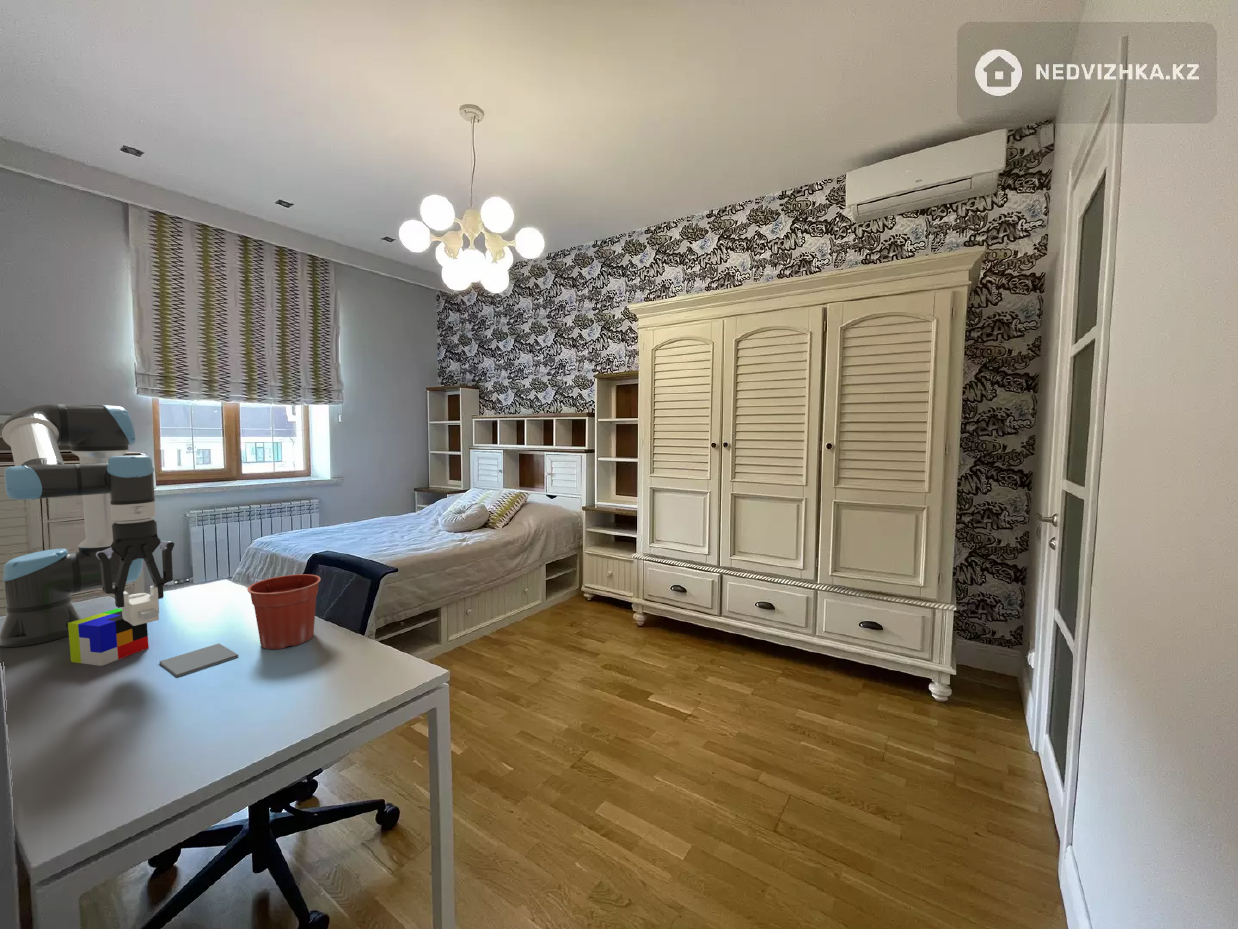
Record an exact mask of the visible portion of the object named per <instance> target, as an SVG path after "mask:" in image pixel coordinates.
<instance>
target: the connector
mask: <svg viewBox="0 0 1238 929" xmlns="http://www.w3.org/2000/svg"><path fill="white" fill-rule="evenodd" d="M158 601H159V599H156V598H154V597H152V596H151V595H150V594H149V593H147V592H140V593H139V592H138V593H134V594H133V593H132V594H129V609H130V620H129V621H128V622H129V623H130V624H132V625H133V626H136V625H140V624H144V623H147V624H148V623H152V622H157V621H159V620H160V615H159V614H160V612H159V613H158Z"/></svg>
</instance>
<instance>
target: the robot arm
mask: <svg viewBox="0 0 1238 929" xmlns="http://www.w3.org/2000/svg"><path fill="white" fill-rule="evenodd" d="M0 430H1V431H0V432H1V438H2V440H3V441H4V443H6V444H7V445H8V446H9V447H10V449H11V454H12V460H13V463H14V465H13V466H8V467H6V468H5V469H4V470H3V475H4V488H5V495H6V497H7V498H8V499H10V500H14V501H15V500H32V501H33V500H38V499H39V500H40V499H50V498H51V499H52V498H53V499H54V498H63V497H75V496H76V497H77V496H82V507H83V518H84V521H83V523H84V531H85V533H84V534H85V539H84V540H82V542H80V543H79V544H78V551H74V552H69V550H68V549H67V548H54V549H47V550H46V549H45V550H40V551H37V552H32V553H31V552H30V553H27V554H24V555H21V556H17V557H14V558H12V559H9V561H7V562H6V563H4V565H3V577H2V582H4V595H5V596H4V597H5V608H6V617H5V619H4V622H3V624H2V627H1V630H0V647H3V648H18V647H26V646H27V647H28V646H33V645H39V644H42V643H47V642H51V641H54V640H58V639H62V638H65V637H69V631H68V623H70V622H73V621H76V620H80V619H82V617H81V615H80V614H79V612H78V610H77V609H76V608H75V606H74V604H73V602H72V594H75V593H81V592H86V591H87V592H88V591H93V590H97V589H102V591H103V592H104V593H105V594H108V595H111V594H112V595H114V602H115V603H114V604H115V606H116V607H117V609H122V616H123V619H124V620H125V621H129V620H130V609H129V595H130V594H129V592H128V591H126V590H125V589H126V585H127V584H129V583H133V582H136V581H137V580H139V578H140V576H141V573H142V570H143V563H144V562H145V565H146V567H147V570H148V572H149V574H150V577H151V580H152V583H153V584H154V585H150V586H149V590H150V591H149V592H150V594H149V595H151V596H152V597H154V598H156V599H158V613H159V614H160V603H159V602H160V601H159V600H160V599H164V586H165V584H167V583H170V582H172V581H173V579H174V577H173V576H174V575H173V554H172V553H173V552H172V551H173V550H174V547H175V542H173V541H170V540H167V541H166V540H161V538H159V536H158V527H157V526H158V524H157V520H156V519H154V518H155V517H156V516H157V513H156V500H155V485H154V484H155V483H154V482H155V481H154V471H155V468H154V466H153V459H152V457H150V456H149V455H144V454H143V455H141V454H140V455H135V454H134V455H129V454H128V455H125V454H127V452H129V446H132V445H134V444H135V443H136V433H135V429H134V425H133V420H132V418H131V416H130V414H129V412H128V411H127V409H126V408H124V407H123V406H121V405H120V406H119V405H109V404H106V405H105V404H71V403H70V404H69V403H67V404H65V403H64V404H63V403H43V404H37V405H33V406H30V407H25V408H23V409H20V410H18V411H17V412H15V413H13V414H12V415H10V416H8V418H7V419H6V420H5V421H4V422H3V423H2V426H1V429H0ZM59 446H61V447H62V446H63V447H64V446H69V447H70V452H71V453H72V454H73V455H74V456H77V457H78V459H79V463H68V464H67V463H65V462H64V459H63V456H62V454H61V452H60V451H61V450H60V449H59ZM158 547H160V548H159V549H161V561H162V575H161V574H160V571H159V568H158V566H157V564H156V561H155V557H154V554H153V553H154V552H155V551H156V549H157V548H158Z"/></svg>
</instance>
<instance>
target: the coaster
mask: <svg viewBox="0 0 1238 929" xmlns="http://www.w3.org/2000/svg"><path fill="white" fill-rule="evenodd" d="M235 658H239V654H238V653H236V652H235V651H233V650H231V649H229V648H228V647H226V646H224V645H222V644H221V643H216V644H213V645H212V644H211V645H210V646H206V647H203V648H200V649H195V650H193V651H189V652H186V653H183V654H179V655H176V656H173V657H170V658H166V659H163V660H160V661H158V662H159V664H160V665H161V667H163V668H164V669H166V670H167V671H168V672H170V673H171V674H172V675H173V676H175V677H176V678H178V677H181V676H184V675H187V674H190V673H193V672H196V671H200V670H203V669H205V668H208V667H212V666H214V665H217V664H221V663H225V662H227V661H229V660H233V659H235Z"/></svg>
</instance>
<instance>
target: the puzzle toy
mask: <svg viewBox="0 0 1238 929" xmlns="http://www.w3.org/2000/svg"><path fill="white" fill-rule="evenodd" d="M68 631H69V635H68V640H69V642H68V643H69V651H70V652H69V654H70V662H71V663H78V664H85V665H92V666H101V667H102V666H105V665H108V664H111V663H114V662H116V661H118V660H121V659H124V658H126V657H129V656H132V655H133V654H137V653H139V652H142V651H144V650H147V649H149V646H150V645H149V633H148V623H144V624H140V625H136V626H133V625H132V624H130V623H129V622H128V621H125V620H124V619H123V616H122V608H113V609H110V610H107V611H103V612H99V613H97V614H93V615H90V616H88V617H87V616H86V617H84V618H81V619H80V620H76V621H73V622H70V623H68Z"/></svg>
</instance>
